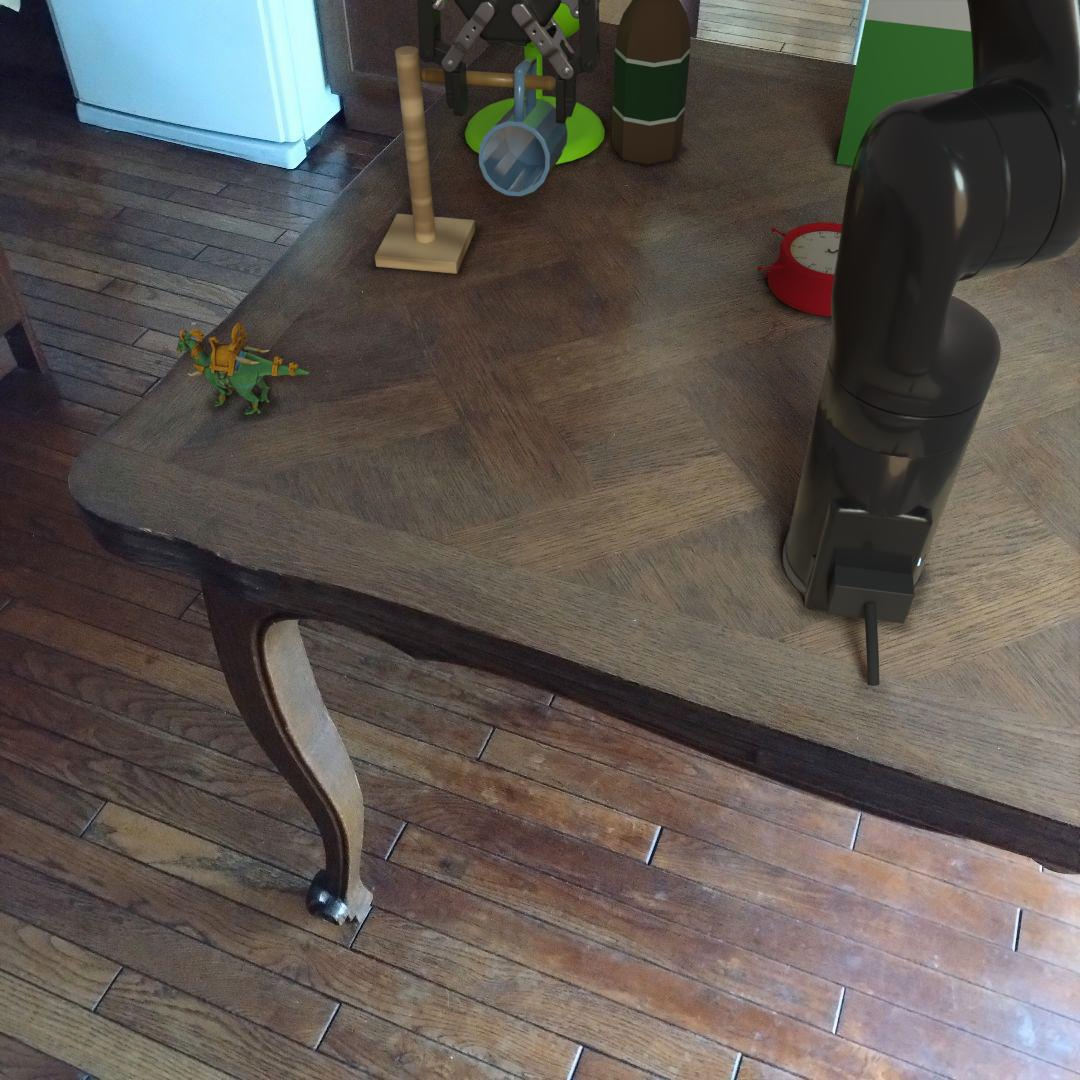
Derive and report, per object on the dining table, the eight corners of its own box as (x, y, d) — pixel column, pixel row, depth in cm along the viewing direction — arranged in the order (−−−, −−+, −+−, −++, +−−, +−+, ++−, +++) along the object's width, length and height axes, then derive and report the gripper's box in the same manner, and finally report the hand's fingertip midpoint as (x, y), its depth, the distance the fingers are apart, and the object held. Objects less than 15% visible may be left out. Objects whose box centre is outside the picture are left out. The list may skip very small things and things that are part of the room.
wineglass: (463, 168, 115) (451, -8, 102) (465, 103, 126) (454, -63, 113) (610, 164, 116) (616, -13, 102) (599, 99, 127) (604, -67, 113)
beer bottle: (611, 132, 121) (620, -106, 103) (679, 133, 120) (700, -106, 103) (611, 165, 115) (621, -80, 98) (683, 165, 115) (705, -80, 98)
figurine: (200, 381, 90) (175, 299, 84) (327, 408, 87) (311, 325, 81) (180, 403, 88) (153, 320, 82) (310, 431, 85) (292, 348, 79)
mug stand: (549, 282, 100) (548, 79, 86) (376, 266, 102) (347, 66, 88) (563, 238, 105) (563, 40, 91) (398, 224, 107) (374, 29, 94)
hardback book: (1009, 156, 116) (1089, -90, 98) (1006, 188, 111) (1089, -64, 93) (846, 133, 120) (895, -107, 102) (836, 163, 115) (885, -83, 98)
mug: (566, 169, 100) (548, 198, 92) (502, 165, 101) (479, 193, 93) (570, 52, 95) (552, 72, 87) (503, 48, 96) (478, 67, 87)
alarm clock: (771, 213, 101) (939, 203, 95) (776, 271, 105) (937, 265, 99) (751, 270, 94) (930, 264, 88) (757, 331, 98) (929, 328, 92)
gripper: (394, -93, 75) (417, 130, 86) (595, -84, 73) (590, 143, 84) (421, -124, 80) (439, 91, 91) (609, -116, 78) (603, 102, 90)
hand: (511, 116), depth 88 cm, fingers open, 8 cm apart
